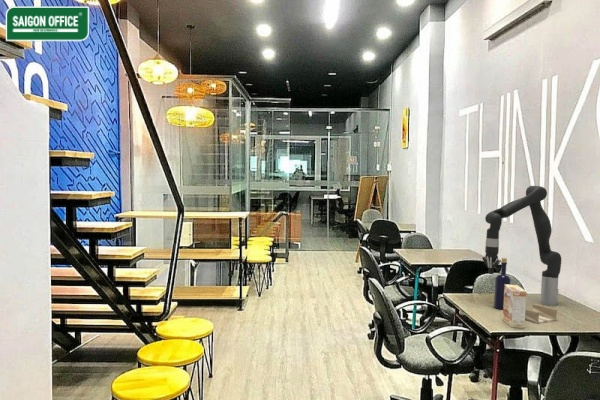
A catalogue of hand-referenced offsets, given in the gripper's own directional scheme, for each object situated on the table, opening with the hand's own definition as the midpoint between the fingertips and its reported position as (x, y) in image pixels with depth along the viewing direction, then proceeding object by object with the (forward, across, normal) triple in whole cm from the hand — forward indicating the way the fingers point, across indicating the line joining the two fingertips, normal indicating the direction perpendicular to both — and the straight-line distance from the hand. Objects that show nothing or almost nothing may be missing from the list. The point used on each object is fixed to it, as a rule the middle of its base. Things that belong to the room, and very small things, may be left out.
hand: (490, 273), depth 306 cm
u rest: (+19, -32, 0) cm, 38 cm away
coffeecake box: (+19, -35, +20) cm, 44 cm away
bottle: (+19, -10, 0) cm, 21 cm away
